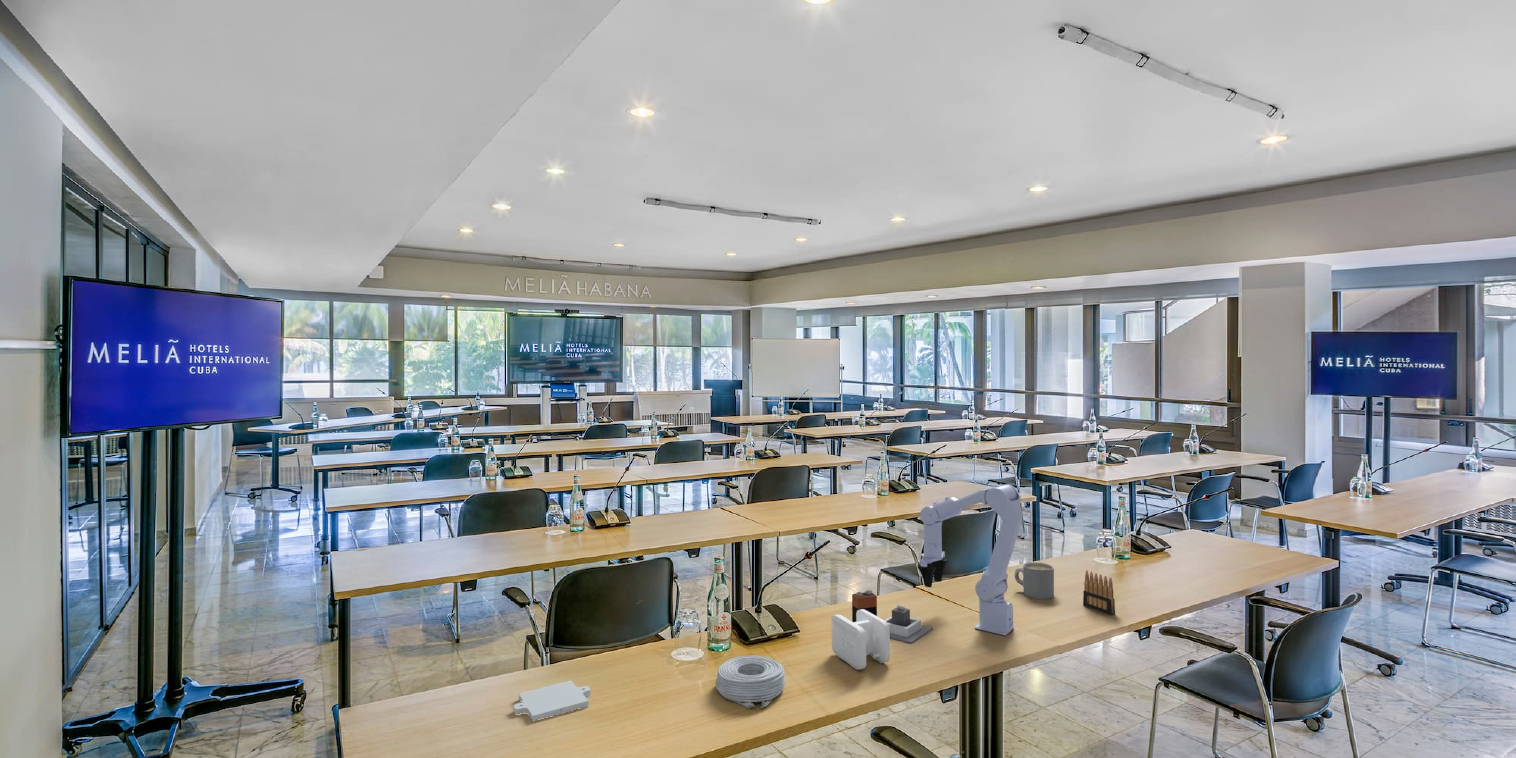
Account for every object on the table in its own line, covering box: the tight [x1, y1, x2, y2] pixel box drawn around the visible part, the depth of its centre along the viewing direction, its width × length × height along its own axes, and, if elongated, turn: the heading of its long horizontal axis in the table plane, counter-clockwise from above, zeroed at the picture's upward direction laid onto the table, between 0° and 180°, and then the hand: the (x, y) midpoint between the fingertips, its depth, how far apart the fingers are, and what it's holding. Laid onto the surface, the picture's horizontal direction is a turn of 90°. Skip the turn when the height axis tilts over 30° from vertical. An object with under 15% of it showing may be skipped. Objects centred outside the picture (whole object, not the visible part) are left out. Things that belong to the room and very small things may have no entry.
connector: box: [891, 604, 911, 627], centre depth 208 cm, size 4×4×7 cm
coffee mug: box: [1014, 561, 1055, 600], centre depth 242 cm, size 13×10×10 cm
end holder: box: [884, 615, 933, 645], centre depth 208 cm, size 14×14×3 cm
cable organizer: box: [831, 609, 891, 671], centre depth 187 cm, size 15×11×12 cm
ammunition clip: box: [1082, 570, 1116, 616], centre depth 224 cm, size 11×2×12 cm, turn 25°
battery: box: [851, 589, 878, 622], centre depth 214 cm, size 4×7×10 cm, turn 109°
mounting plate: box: [513, 679, 592, 722], centre depth 164 cm, size 18×13×2 cm
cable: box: [714, 655, 786, 710], centre depth 170 cm, size 18×18×6 cm
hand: (933, 583), depth 223 cm, fingers open, 7 cm apart
